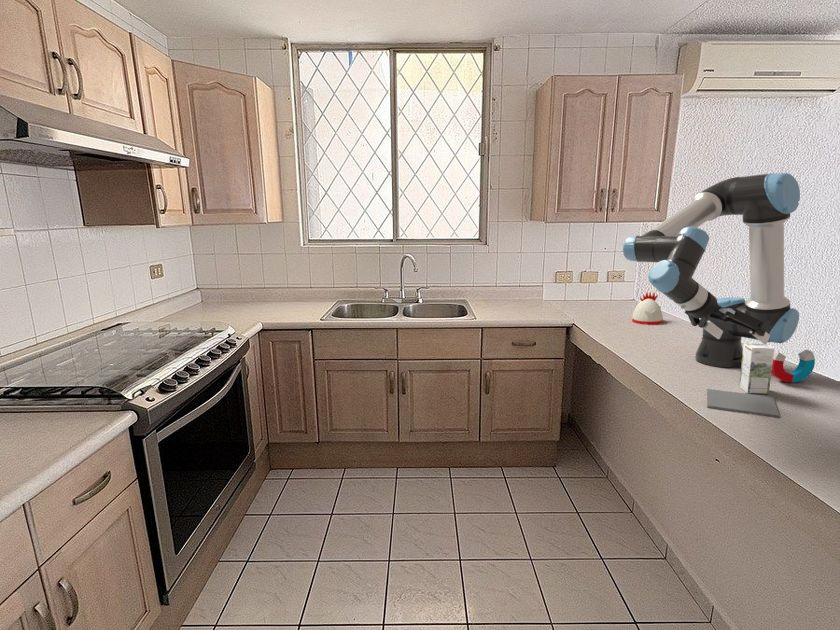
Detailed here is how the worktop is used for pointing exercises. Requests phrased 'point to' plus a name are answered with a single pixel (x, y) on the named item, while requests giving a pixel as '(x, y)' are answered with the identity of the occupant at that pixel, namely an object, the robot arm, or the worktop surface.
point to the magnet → (797, 374)
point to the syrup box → (756, 368)
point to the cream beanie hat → (648, 311)
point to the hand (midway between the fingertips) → (742, 337)
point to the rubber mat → (742, 402)
